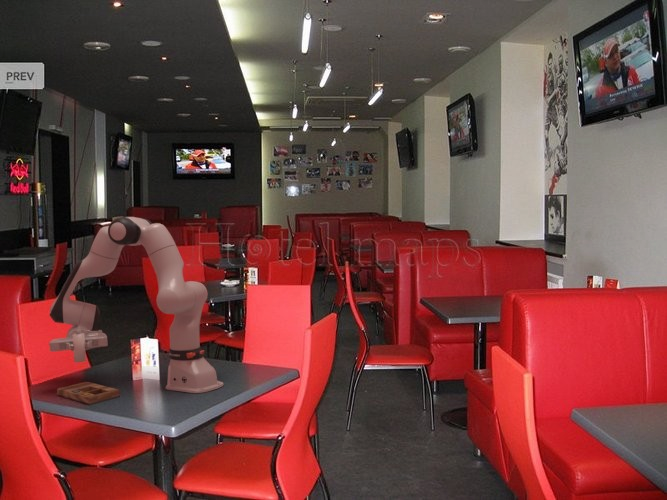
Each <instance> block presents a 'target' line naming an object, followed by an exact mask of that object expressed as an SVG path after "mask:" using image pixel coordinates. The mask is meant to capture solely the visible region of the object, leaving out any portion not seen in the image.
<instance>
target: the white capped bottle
mask: <svg viewBox="0 0 667 500" xmlns="http://www.w3.org/2000/svg"><path fill="white" fill-rule="evenodd" d="M73 348H74V350H73V351H74V352H73V351H72V352H73V362H74V363H84V362H86V360H87V357H86V350H85V337H84V333H81V330H76V334H73Z"/></svg>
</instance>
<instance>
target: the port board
mask: <svg viewBox="0 0 667 500" xmlns="http://www.w3.org/2000/svg"><path fill="white" fill-rule="evenodd" d="M56 395H57V396H58V397H61V398H64V399H68V400H71V401H74V402H78V403H81V404H85V405H89V406H90V405H94V404H99V403H101V402H105V401H108V400H113V399H116V398H120V397H121V393H120V389H118V388H114V387H109V386H106V385H101V384H98V383H94V382H91V381H84V382H78V383H76V384H72V385H68V386H67V385H66V386H63V387H59V388H56Z"/></svg>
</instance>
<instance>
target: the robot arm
mask: <svg viewBox="0 0 667 500" xmlns="http://www.w3.org/2000/svg"><path fill="white" fill-rule="evenodd" d="M125 246H131V247H133V246H134V247H136V246H143V248H144V249H145V251H146V253H147V255H148V259H149V260H150V263H151V266H152V267H153V270H154V273H155V275H156V279H157V286H158V293H157V295H156V305H157V309H159V311H161V312H162V313H163V314H167V315H174V318H173V321H172V323H171V324H170V326H169V347H170V348H169V349H168V357H169V359H170V361H169V364H168V368H167V369H168V370H167V384H166V385H165V390H168V391H176V392H183V393H184V392H185V393H190V394H201V393H206V392H211V391H214V390H217V389H220V388H221V387H223V386H224V382H223V381H220V380H218V377H217V376H218V375H217V371H216V369H215V368H214V366H212V365H211V364H210V363H209V362H208V361H207V360H206V359H205V357H204V353H205V350H202V347H201V345H200V341H201V340H200V324H201V320H202V319H201V318H202V312H203V308H204V305H205V303H206V301H208V294H209V293H208V292H209V291H208V290H207V287H206V286H205V284H203V283H201V282H199V281H193V280H190V281H185V278H184V271H183V270H184V267H185V263H184V260H183V258H182V256H181V254H180V251H179V249H178V246H177V245H176V241H175V240H174V238H173V236H172V235H171V232H170V231H169V230H168V228H167V227H166V226H165V225H164V224H161V223H160V222H159V223H158V222H155V223H153V222H151V221H150V220H149V219H147V218H144V217H135V216H122V217H121V216H120V217H117V218H115V219H113V220H112V221H110V223H109V224H108V225H107V226H106V225H105V226H103V227H101V228H100V229H99V230H98V231H97V234H96V235H95V238H94V240H93V242H92V244H91V247H90V250H89V253H88V254H87V256H86V257H85V258H84V259H82V260H78V261H77V262H76V263H75V265H74V266H73V269H71V271H70V273H69V274H68V277H67V278H66V281H65V282H64V284H63V286H62V288H61V290H60V292H59V294H58V295H57V296H56V298H55V299H54V301H53V302H52V303H51V306H50V308H49V317H50V318H51V320H52V321H53V322H54V323H57V324H58V323H59V324H65V325H70V327H69V329H68V331H67V333H66V337H60V338H54V339H51V340H50V341H49V343H48V345H49V352H63V351H71V352H72V353H74V351H73V350H74V348H73V334H76V330H81V333H84V337H85V351H88V350H92V349H95V348H96V349H97V348H102V347H108V345H109V344H108V343H109V342H108V336H107V334H106V333H104V332H103V330H102V329H98V327H99V325H100V320H101V311H100V308H99V306H98V305H96V304H92V303H89V302H84V301H80V300H76V299H72V298H70V297H71V295H72V294H73V292H74V289H75V288H76V287H77V284H78V282H79V281H81V280H83V279H87V278H96V277H97V278H98V277H103V276H106V275H110V273H112V272H114V270H115V269H116V267H117V265H118V262H119V259H120V256H121V253H122V249H123V248H124V247H125Z"/></svg>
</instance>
